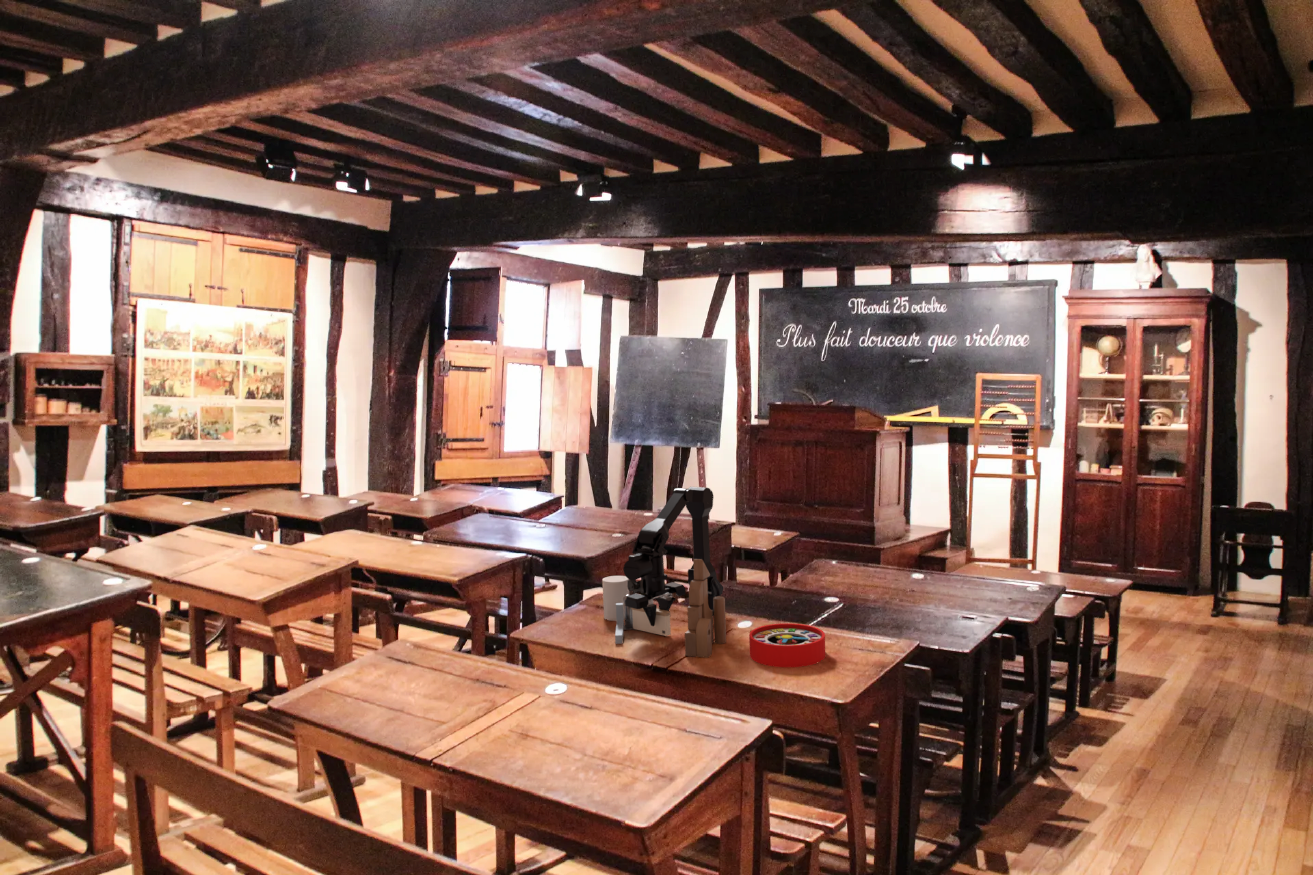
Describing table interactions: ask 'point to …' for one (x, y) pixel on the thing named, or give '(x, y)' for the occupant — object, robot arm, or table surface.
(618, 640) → the strip
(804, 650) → the toy clock
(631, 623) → the grey metallic round-topped post
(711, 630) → the wooden toy
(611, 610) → the off-white flat-topped cylinder
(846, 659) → the table surface
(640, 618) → the beige flat block
